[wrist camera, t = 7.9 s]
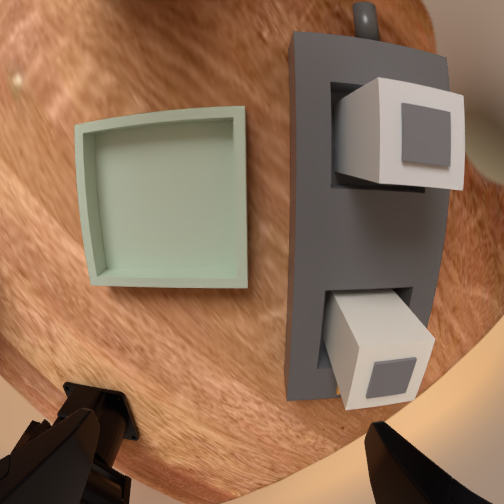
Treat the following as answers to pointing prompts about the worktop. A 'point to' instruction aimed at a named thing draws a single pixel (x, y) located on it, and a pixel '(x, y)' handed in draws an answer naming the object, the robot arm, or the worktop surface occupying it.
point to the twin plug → (401, 135)
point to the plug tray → (165, 198)
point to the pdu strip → (351, 199)
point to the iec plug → (375, 347)
